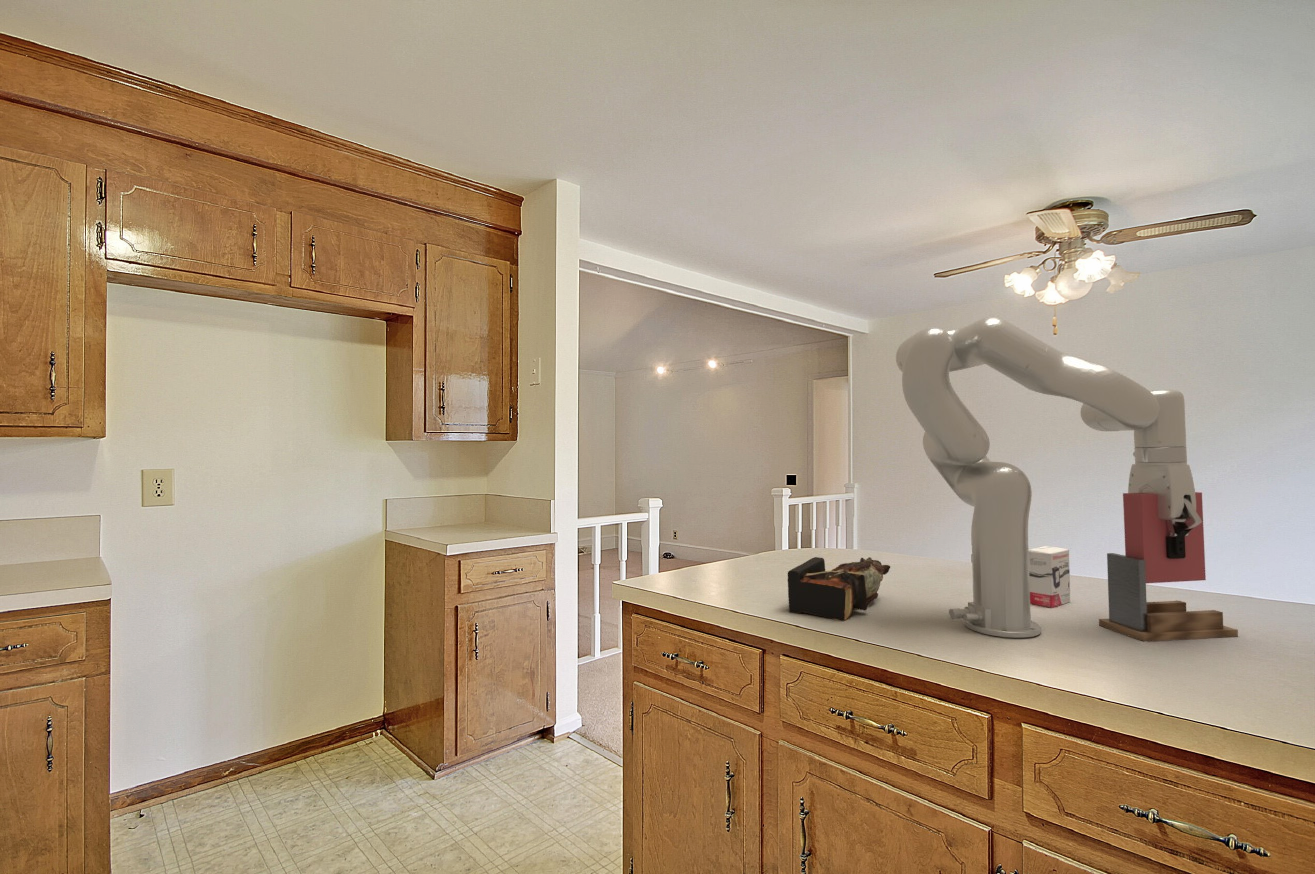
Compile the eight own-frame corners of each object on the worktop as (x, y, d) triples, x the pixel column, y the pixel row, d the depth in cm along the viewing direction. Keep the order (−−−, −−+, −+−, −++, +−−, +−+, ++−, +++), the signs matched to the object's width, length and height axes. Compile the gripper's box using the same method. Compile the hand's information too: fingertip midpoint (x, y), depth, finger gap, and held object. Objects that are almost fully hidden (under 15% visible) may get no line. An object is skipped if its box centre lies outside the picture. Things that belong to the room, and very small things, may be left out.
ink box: (1052, 608, 132) (1051, 552, 132) (1028, 603, 136) (1026, 549, 136) (1071, 602, 137) (1069, 548, 137) (1047, 597, 141) (1045, 545, 141)
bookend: (784, 571, 133) (829, 543, 153) (789, 621, 134) (833, 586, 153) (852, 577, 124) (890, 546, 144) (857, 630, 125) (894, 592, 144)
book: (1145, 583, 113) (1141, 494, 113) (1126, 578, 117) (1122, 493, 117) (1205, 580, 114) (1201, 492, 114) (1185, 575, 118) (1181, 490, 118)
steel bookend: (1141, 638, 111) (1138, 559, 111) (1109, 627, 118) (1106, 553, 118) (1147, 638, 111) (1145, 559, 111) (1115, 627, 118) (1112, 552, 118)
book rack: (1144, 641, 109) (1143, 617, 109) (1099, 625, 119) (1098, 603, 119) (1238, 636, 111) (1237, 612, 111) (1185, 620, 121) (1184, 599, 121)
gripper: (1105, 457, 124) (1108, 549, 123) (1183, 458, 107) (1188, 565, 107) (1140, 455, 124) (1143, 548, 124) (1223, 457, 108) (1228, 563, 107)
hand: (1164, 554), depth 115 cm, fingers closed on book, 4 cm apart
